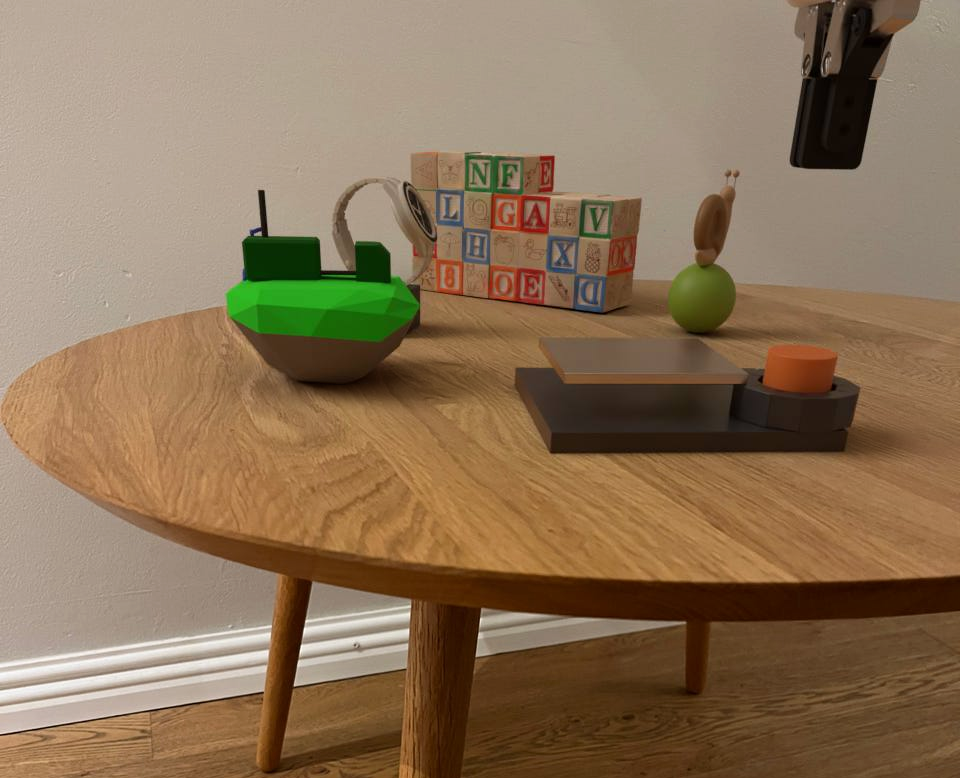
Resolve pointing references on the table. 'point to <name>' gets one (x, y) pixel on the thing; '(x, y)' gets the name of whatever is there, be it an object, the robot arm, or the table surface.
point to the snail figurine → (706, 269)
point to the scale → (685, 416)
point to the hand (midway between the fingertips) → (823, 167)
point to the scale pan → (639, 361)
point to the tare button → (800, 368)
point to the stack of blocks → (523, 232)
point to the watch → (409, 218)
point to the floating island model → (318, 307)
